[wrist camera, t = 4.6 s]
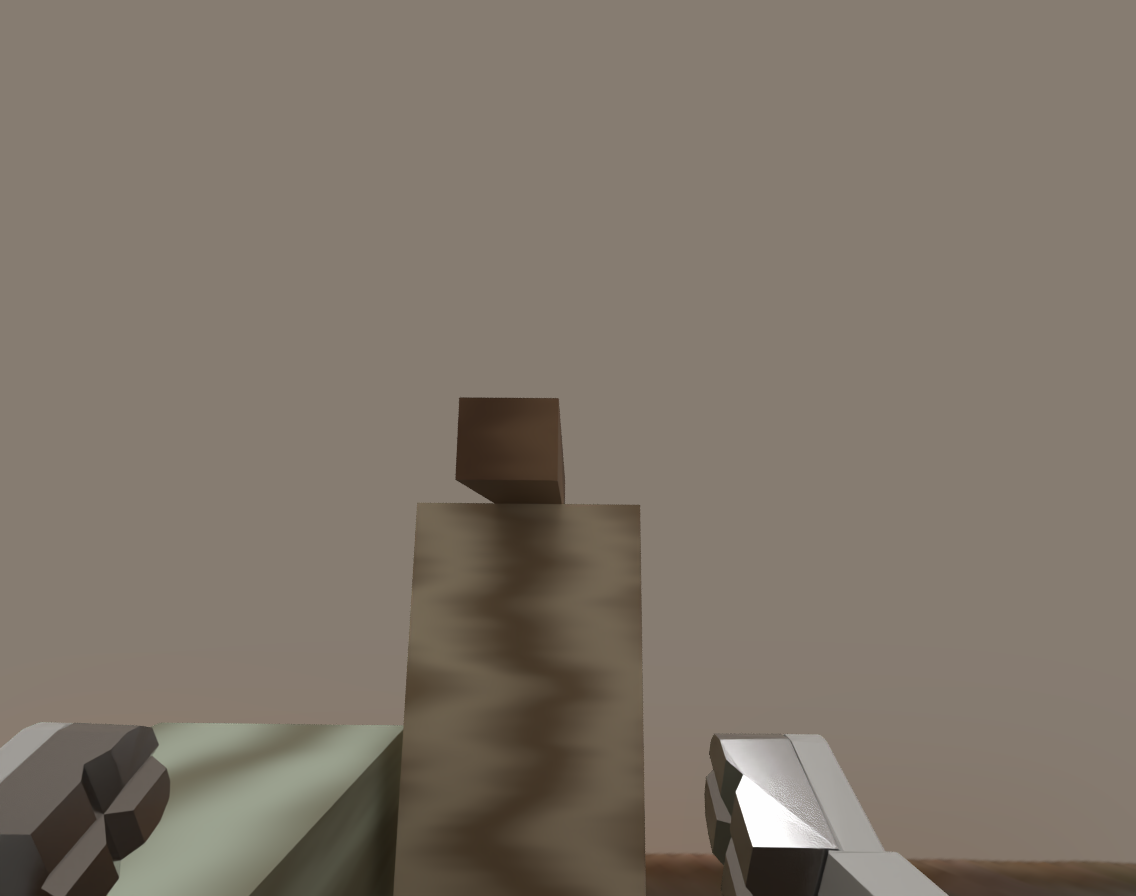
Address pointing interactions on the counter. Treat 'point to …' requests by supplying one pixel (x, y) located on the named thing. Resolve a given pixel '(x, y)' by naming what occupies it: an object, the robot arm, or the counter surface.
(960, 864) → the counter surface
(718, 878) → the counter surface
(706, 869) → the counter surface
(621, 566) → the two step stand
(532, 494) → the walnut bar
